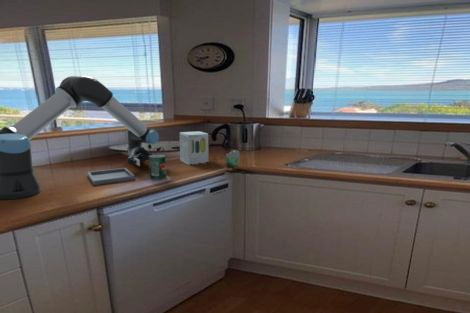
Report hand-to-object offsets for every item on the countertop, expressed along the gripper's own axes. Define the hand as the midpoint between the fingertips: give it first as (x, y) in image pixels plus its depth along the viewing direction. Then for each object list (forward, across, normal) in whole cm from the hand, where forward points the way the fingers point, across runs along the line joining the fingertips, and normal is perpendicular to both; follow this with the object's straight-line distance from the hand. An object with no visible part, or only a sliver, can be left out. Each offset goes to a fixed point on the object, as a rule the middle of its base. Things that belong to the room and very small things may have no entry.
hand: (152, 161), depth 155 cm
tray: (-3, +20, -6) cm, 21 cm away
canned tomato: (+8, 0, -7) cm, 11 cm away
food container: (+13, -40, -7) cm, 43 cm away
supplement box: (-16, -30, -7) cm, 35 cm away
